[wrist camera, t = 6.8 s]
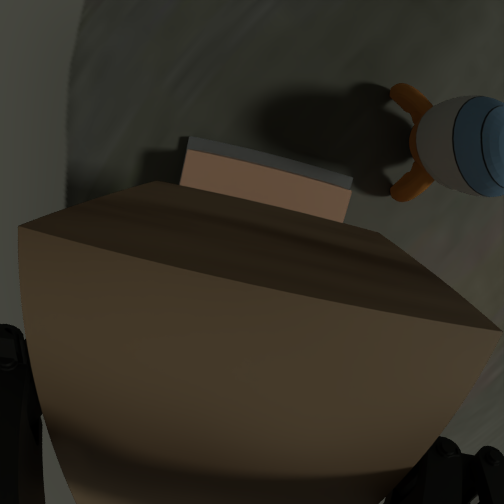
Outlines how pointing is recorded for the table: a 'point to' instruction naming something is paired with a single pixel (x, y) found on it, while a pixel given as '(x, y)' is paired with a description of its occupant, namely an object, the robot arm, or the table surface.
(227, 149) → the build base
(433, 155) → the toy rocket
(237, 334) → the walnut brick
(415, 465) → the robot arm
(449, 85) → the table surface
